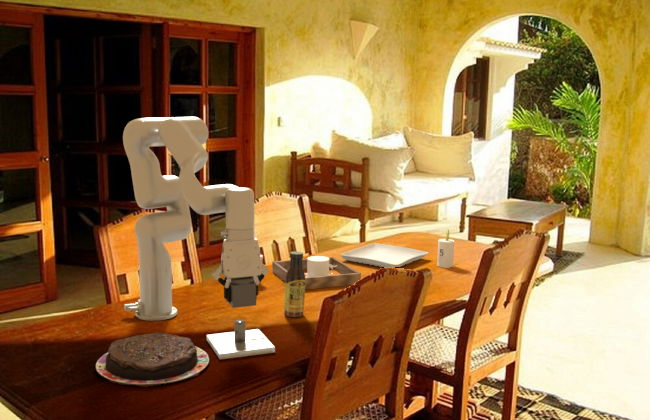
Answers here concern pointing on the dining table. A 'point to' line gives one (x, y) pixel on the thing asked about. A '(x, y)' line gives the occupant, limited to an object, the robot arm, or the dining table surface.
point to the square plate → (383, 255)
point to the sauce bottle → (295, 287)
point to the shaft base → (240, 342)
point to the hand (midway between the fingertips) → (241, 299)
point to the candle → (445, 252)
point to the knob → (243, 292)
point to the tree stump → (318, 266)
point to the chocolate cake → (151, 360)
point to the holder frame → (345, 278)
